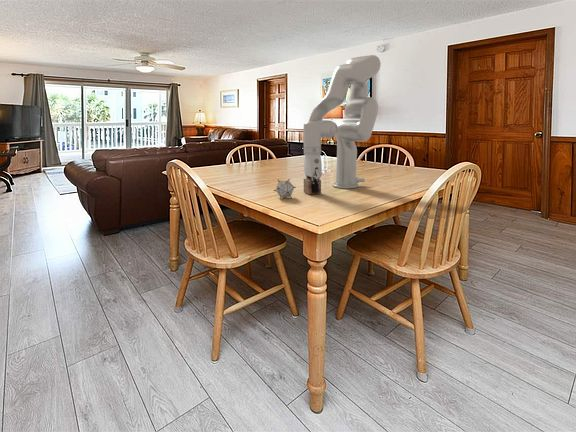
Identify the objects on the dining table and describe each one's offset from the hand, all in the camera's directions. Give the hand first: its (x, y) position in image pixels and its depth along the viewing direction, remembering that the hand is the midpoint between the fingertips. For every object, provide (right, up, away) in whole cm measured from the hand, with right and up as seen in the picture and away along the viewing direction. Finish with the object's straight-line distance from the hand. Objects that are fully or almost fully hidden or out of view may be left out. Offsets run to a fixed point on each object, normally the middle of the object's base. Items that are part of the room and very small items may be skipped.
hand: (312, 190), depth 162 cm
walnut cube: (0, -1, 0) cm, 1 cm away
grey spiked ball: (-12, -4, -9) cm, 16 cm away
